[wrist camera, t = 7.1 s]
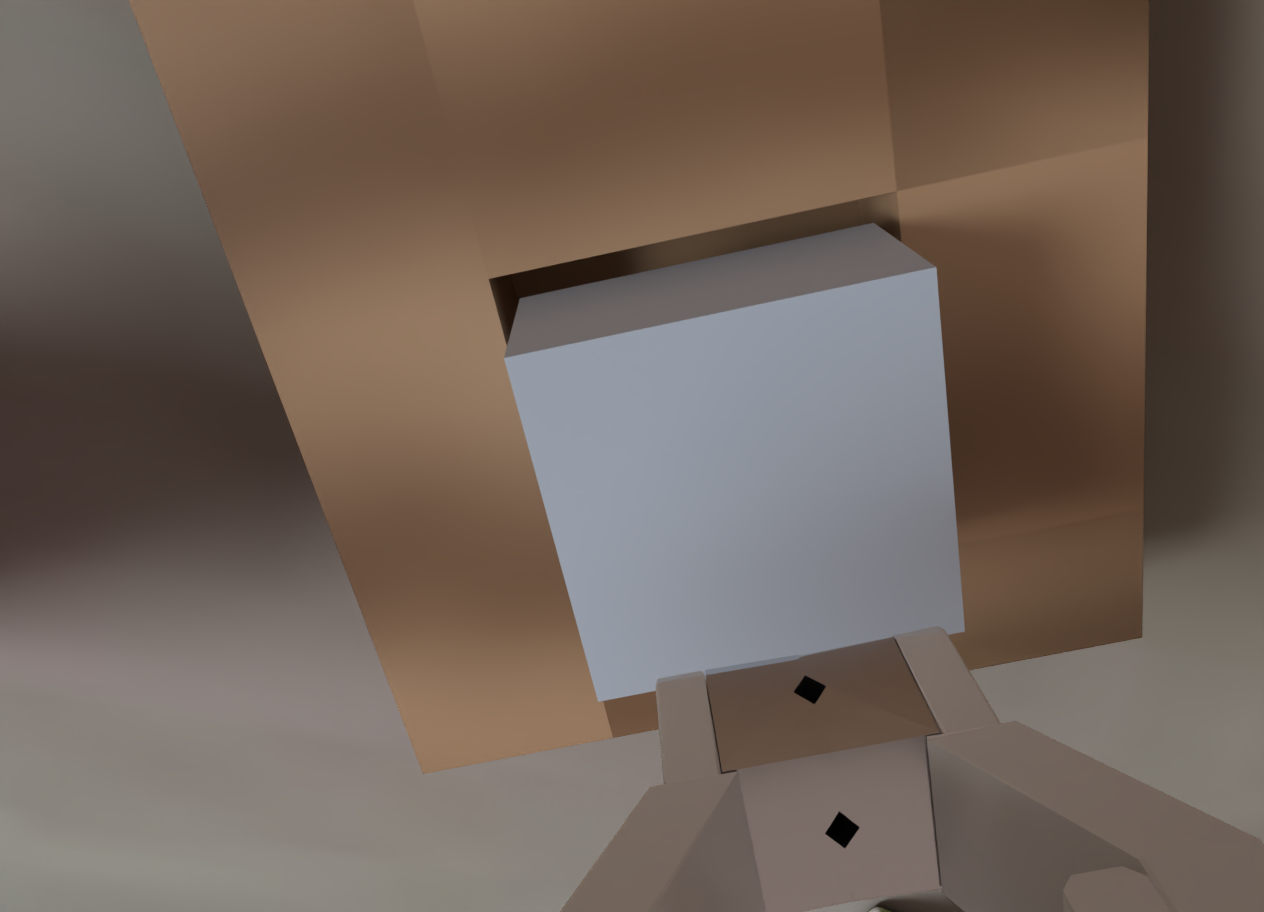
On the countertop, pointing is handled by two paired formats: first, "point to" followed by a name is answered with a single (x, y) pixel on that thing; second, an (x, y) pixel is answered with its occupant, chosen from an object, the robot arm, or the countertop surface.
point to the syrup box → (879, 910)
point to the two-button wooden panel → (656, 238)
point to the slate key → (744, 454)
